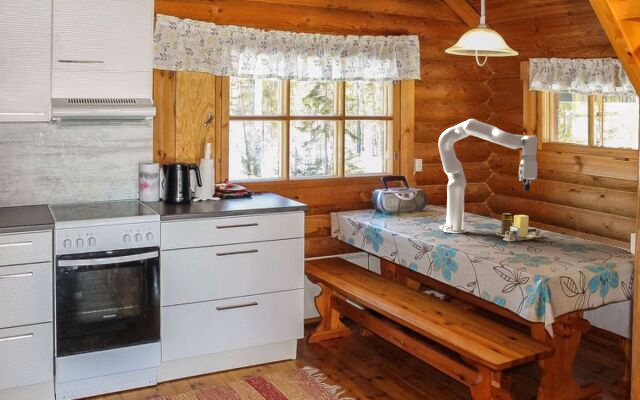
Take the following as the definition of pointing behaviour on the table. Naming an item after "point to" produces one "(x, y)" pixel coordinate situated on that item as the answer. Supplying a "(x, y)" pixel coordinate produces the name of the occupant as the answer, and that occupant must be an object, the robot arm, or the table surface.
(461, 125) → the robot arm
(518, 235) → the grey slab
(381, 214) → the table surface
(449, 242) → the table surface
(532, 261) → the table surface
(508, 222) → the condiment
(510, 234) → the cord rig
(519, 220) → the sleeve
